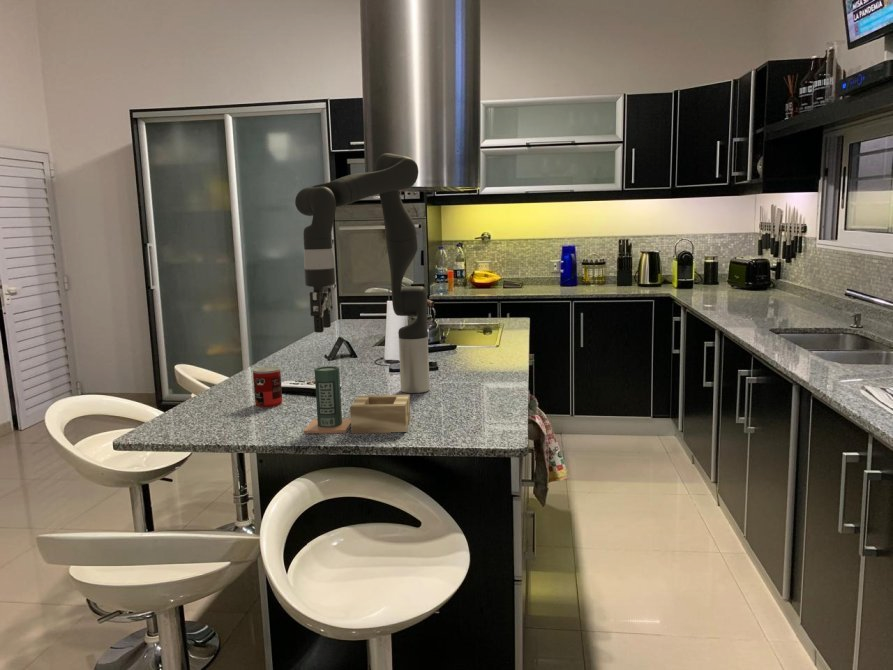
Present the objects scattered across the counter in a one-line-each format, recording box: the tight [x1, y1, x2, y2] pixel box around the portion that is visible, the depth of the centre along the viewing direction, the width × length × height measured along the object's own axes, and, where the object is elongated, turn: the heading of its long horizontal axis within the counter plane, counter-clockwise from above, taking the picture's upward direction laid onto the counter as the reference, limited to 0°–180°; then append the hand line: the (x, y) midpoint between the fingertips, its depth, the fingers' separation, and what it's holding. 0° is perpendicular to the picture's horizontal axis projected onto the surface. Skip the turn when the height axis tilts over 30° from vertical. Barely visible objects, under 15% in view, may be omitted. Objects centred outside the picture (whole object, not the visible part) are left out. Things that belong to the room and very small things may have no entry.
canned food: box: [252, 366, 283, 408], centre depth 213 cm, size 8×8×11 cm
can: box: [314, 365, 343, 428], centre depth 186 cm, size 6×6×15 cm
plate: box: [303, 418, 351, 434], centre depth 187 cm, size 11×11×1 cm
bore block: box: [349, 394, 412, 434], centre depth 185 cm, size 12×14×7 cm
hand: (323, 329), depth 183 cm, fingers open, 8 cm apart
